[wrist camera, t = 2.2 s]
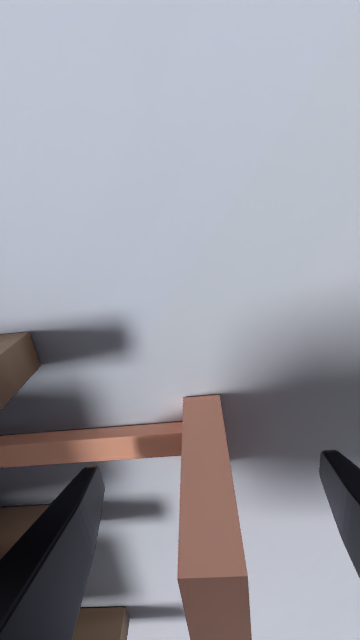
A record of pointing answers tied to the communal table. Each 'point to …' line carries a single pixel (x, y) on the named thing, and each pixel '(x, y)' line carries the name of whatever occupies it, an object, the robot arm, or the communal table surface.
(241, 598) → the wooden bar with block
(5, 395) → the lane rack
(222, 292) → the communal table surface
